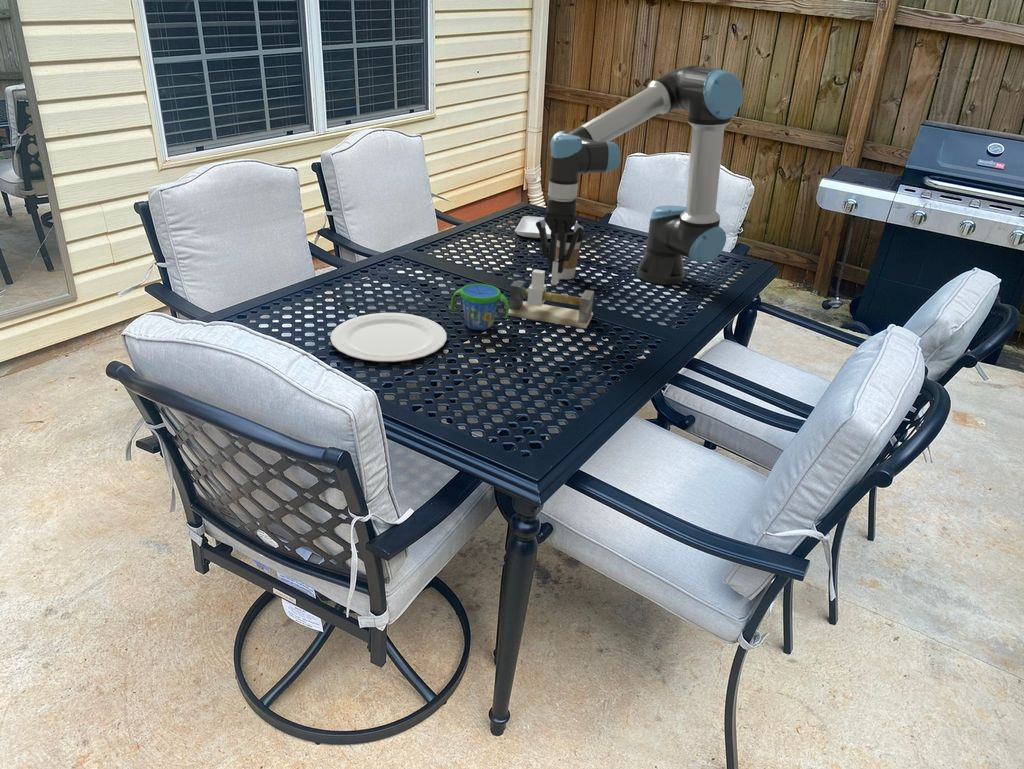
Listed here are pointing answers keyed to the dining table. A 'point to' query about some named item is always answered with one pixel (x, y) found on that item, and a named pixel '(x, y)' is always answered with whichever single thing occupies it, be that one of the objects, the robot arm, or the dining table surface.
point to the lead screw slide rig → (551, 307)
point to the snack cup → (480, 305)
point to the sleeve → (536, 288)
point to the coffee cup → (572, 263)
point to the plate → (388, 337)
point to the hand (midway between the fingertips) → (554, 282)
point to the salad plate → (531, 227)
